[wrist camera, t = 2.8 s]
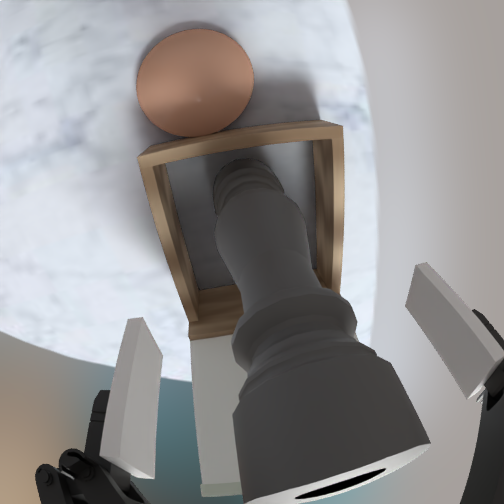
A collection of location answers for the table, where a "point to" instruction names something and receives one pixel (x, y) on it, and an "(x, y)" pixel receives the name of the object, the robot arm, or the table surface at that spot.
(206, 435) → the frame lid
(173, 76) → the saucer
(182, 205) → the table surface
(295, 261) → the candle holder
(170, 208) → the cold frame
